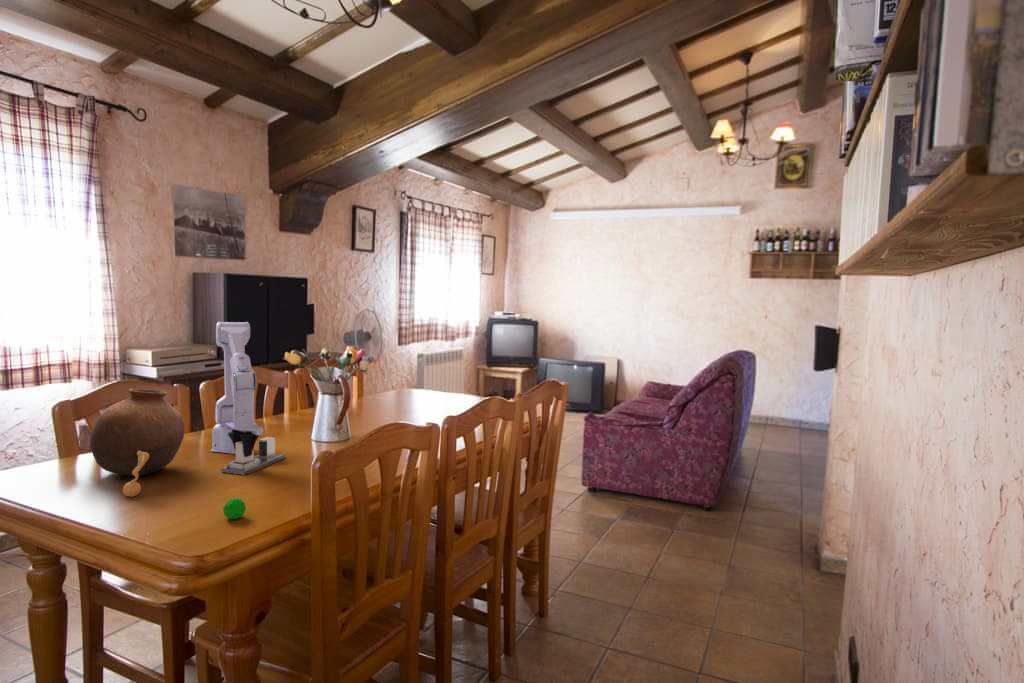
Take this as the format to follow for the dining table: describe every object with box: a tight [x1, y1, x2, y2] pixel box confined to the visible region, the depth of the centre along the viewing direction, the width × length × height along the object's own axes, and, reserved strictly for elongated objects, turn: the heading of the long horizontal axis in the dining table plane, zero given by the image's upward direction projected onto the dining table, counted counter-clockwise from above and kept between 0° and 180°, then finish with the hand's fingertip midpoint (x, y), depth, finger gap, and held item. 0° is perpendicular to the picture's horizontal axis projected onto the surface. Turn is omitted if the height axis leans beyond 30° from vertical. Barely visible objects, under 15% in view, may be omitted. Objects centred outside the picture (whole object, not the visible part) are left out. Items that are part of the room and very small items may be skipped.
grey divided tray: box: [220, 436, 286, 476], centre depth 188 cm, size 8×20×7 cm, turn 166°
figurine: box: [122, 451, 149, 498], centre depth 157 cm, size 8×6×12 cm
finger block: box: [235, 441, 255, 463], centre depth 183 cm, size 3×4×6 cm
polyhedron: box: [222, 497, 247, 520], centre depth 144 cm, size 5×5×5 cm
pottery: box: [89, 388, 186, 477], centre depth 175 cm, size 23×23×25 cm
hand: (244, 455), depth 183 cm, fingers closed on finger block, 3 cm apart
